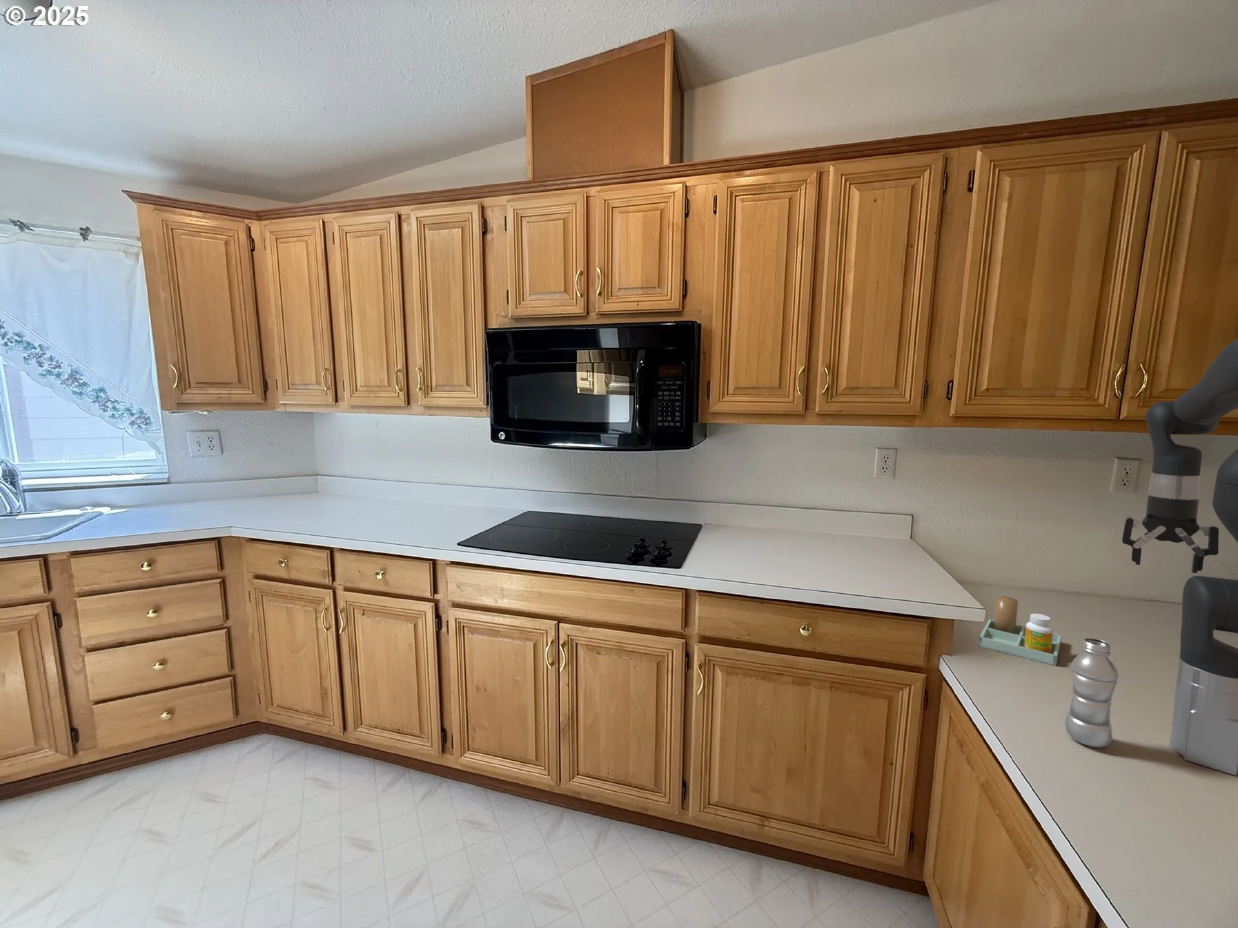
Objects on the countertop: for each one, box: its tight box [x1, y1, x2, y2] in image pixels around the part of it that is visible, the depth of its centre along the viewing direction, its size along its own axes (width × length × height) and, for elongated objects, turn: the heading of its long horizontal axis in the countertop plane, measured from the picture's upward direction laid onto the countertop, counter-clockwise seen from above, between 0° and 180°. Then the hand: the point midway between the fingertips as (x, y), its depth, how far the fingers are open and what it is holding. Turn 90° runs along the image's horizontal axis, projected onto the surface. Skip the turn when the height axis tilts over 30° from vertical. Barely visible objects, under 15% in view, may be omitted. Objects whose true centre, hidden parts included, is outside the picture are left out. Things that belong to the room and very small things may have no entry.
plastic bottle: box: [1064, 637, 1120, 749], centre depth 98 cm, size 6×7×20 cm
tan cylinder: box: [994, 595, 1019, 634], centre depth 143 cm, size 5×5×10 cm
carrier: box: [978, 618, 1062, 667], centre depth 139 cm, size 16×16×2 cm
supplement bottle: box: [1024, 613, 1054, 654], centre depth 133 cm, size 5×5×10 cm
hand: (1165, 568), depth 113 cm, fingers open, 8 cm apart
